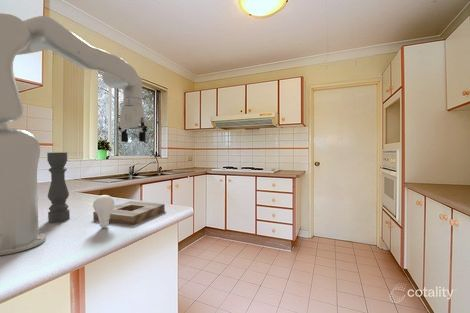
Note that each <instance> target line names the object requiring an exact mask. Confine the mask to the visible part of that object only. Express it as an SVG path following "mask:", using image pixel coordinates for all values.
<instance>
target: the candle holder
mask: <svg viewBox="0 0 470 313" xmlns="http://www.w3.org/2000/svg"><path fill="white" fill-rule="evenodd" d="M46 156H47V157H46V159H47V162H48V165H49V166H50V168H49V169H48V172H49V173H50V177H51V179H50V180H51V181H50V186H49V189H48V193H47V199H48V200H49V201H50V203H51V205H50V206H49V208H48V210H49V211H48V212H47V215H48V216H47V219H48V220H47V222H48V223H50V224H54V223H55V224H56V223H62V222H66V221H69V220H70V218H71V217H70V209H69V205H68V204H67V203H66V202H67V199H68V198H69V196H70V192H69V190H68V185H67V183H66V180H65V174H66V171H67V169H68V168H67V167H65V166H66V164H67V162H68V152H47V155H46Z"/></svg>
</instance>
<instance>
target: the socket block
mask: <svg viewBox="0 0 470 313" xmlns="http://www.w3.org/2000/svg"><path fill="white" fill-rule="evenodd" d="M163 212H165V204H164V203H154V202H145V201H144V202H143V201H133V200H130V201H126V202H123V203H119V204H116V205H115V204H114V207H113V209H112V211H111V213H110V219H109V223H112V224H113V223H114V224H121V225H129V226H134V225H136V224H139V223H140V222H143V221H146V220H148V219H149V218H152V217H154V216H157V215H159V214H161V213H163ZM92 215H93V221H99V217H98V214H97V213H96V211H95V210H94V211H93V214H92ZM99 222H100V221H99Z"/></svg>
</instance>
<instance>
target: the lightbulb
mask: <svg viewBox="0 0 470 313" xmlns="http://www.w3.org/2000/svg"><path fill="white" fill-rule="evenodd" d="M114 206H115V199H114V198H113V197H112V196H111V195H108V194H102V195H99V196H98V197H96V198H95V199H94V200H93V203H92V207H93V210H94V212H95V211H96V213H97V214H98V217H99V227H100V228H102V229H106V228H107V227H109V225H110V222H109V219H110V213H111V211H112V209H113V207H114Z"/></svg>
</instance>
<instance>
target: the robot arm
mask: <svg viewBox="0 0 470 313" xmlns="http://www.w3.org/2000/svg"><path fill="white" fill-rule="evenodd" d="M42 51H43V52H44V51H52V52H53V53H55V54H56V55H58V56H60V57H62V58H64V59H65V60H66V61H69V62H70V63H72V64H73V65H75V66H77V67H79V68H80V69H86V70H92V71H101V72H103V73H102V77H101V78H102V81H103V83H104V84H105V85H106V86H107V87H109V88H112V89H116V90H117V89H118V90H123V91H122V92H123V96H122V97H123V101H122V106H121V110H120V117H119V121H118V122H117V123H116V127H117V129H118V131H119V133H120V134H121V135H120V138H121V139H120V140H121V142H122V143H128V142H129V134H128V131H130V130H136V129H137V130H138V131H139V132H138V139H139V140H138V141H139V142H140V143H141V142H142V143H145V142H146V134H147V131H148V130H149V129H150V128H149V127H150V125H151V122H150V121H148V120H147V119H146V118H145V109H144V106H143V85H142V84H143V81H142V80H143V78H142V77H141V75H139V74H138V72H137V70H136V69H135V68H134V67H133V66H132V65H131V64H130V63H128V62H127V61H126V60H124V59H123V58H122V57H120V56H118V55H116V54H113V53H111V52H108V51H105V50H104V49H101V48H97V47H94V46H92V45H90V44H89V43H88V42H87V41H85V40H83V39H82V38H81V37H79V36H78V35H76V34H75V33H73V32H72V31H71V30H69V29H68V28H66V27H65V26H64V25H63V24H61V23H60V22H58V21H56V20H55V19H53V18H52V17H49V16H46V15H38V16H34V17H31V18H28V19H25V20H23V19H21V18H20V17H17V15H16V16H15V15H13V14H11V13H10V14H9V13H0V256H5V255H11V254H15V253H19V252H20V253H21V252H23V251H26V250H30V249H33V248H35V247H37V246H39V245H41V244H43V243H44V242H45V241H46V240H47V235H46V233H45V234H44V233H42V232H40V231H39V206H38V205H39V204H38V166H39V165H38V164H39V160H40V155H41V145H40V142H39V140H38V139H37V138H36V137H35V136H34V135H33V134H32V133H30V131H29V132H28V131H27V130H24V129H19V128H9V126H8V124H9V123H15V122H17V121H19V119H21V118H22V116H23V115H24V106H23V102H22V99H21V95H20V92H19V89H18V85H17V82H16V78H15V72H14V61H15V57H16V56H20V55H27V54H28V55H29V54H33V53H39V52H42Z"/></svg>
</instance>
